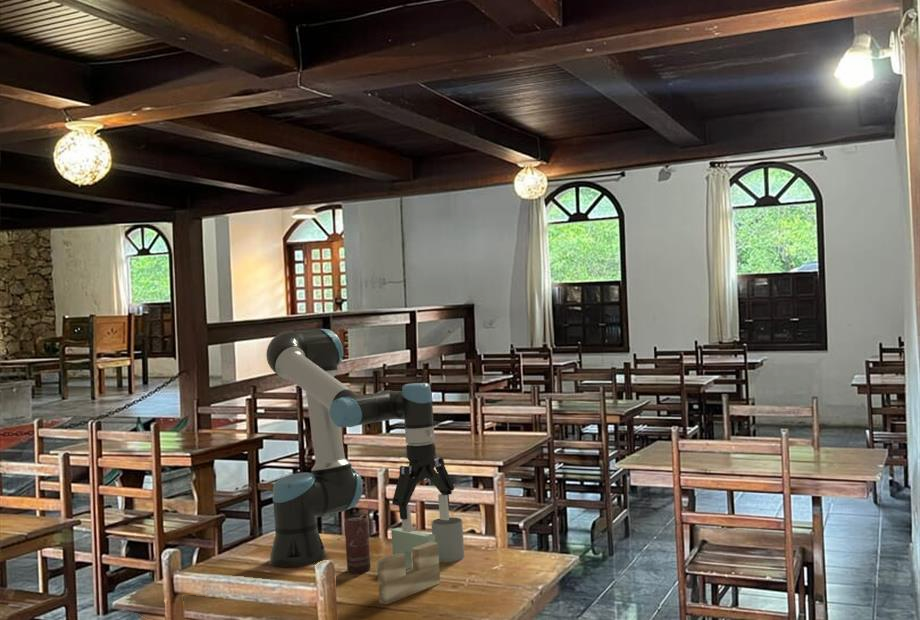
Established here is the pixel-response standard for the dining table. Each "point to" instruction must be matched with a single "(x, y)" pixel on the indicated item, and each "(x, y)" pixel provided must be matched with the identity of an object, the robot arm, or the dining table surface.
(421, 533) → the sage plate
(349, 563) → the can
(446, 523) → the cup
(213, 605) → the dining table surface
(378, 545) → the dining table surface
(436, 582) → the birch plate
